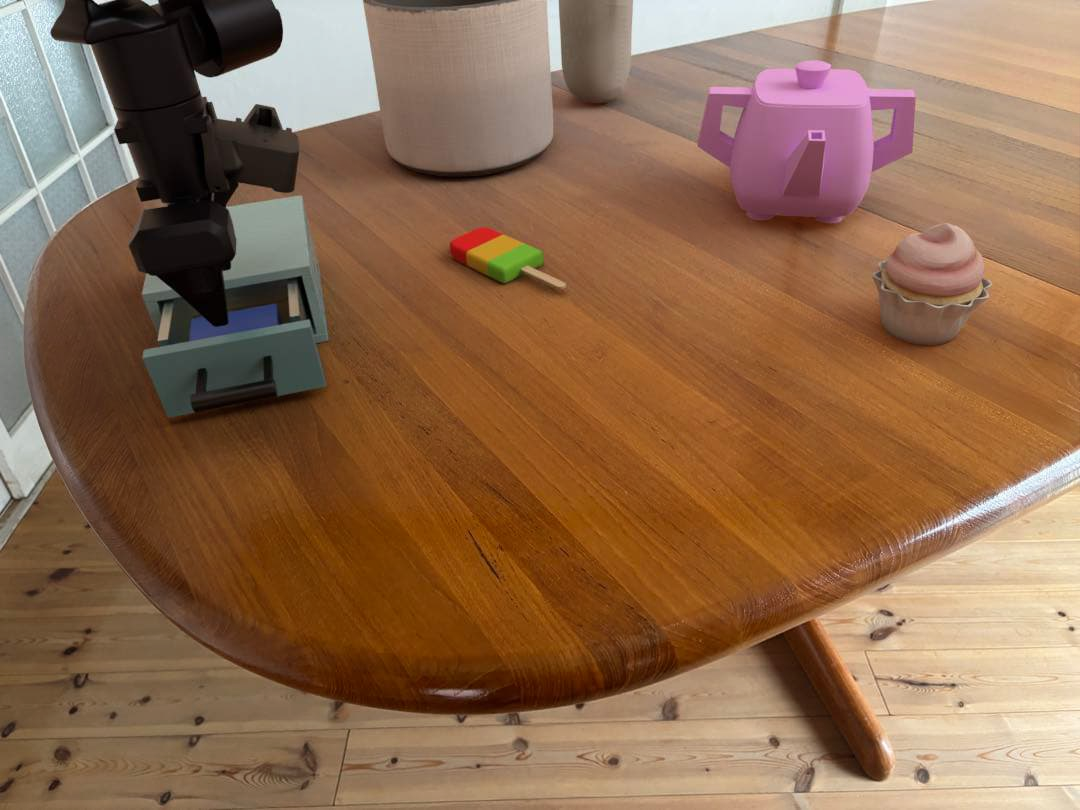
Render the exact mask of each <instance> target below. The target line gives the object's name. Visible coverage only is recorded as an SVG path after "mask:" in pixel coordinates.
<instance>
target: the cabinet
mask: <svg viewBox="0 0 1080 810" xmlns="http://www.w3.org/2000/svg"><path fill="white" fill-rule="evenodd" d="M226 208H227V209H228V210H229V213H230V216H231V219H232V223H233V227H234V232H235V237H236V238H237V240H236V255H235V257H234V259H233V260H232V261H231V269H230V270H226V271H223V276H224V284H225V289H230V288H236V287H242V286H247V285H253V284H259V283H265V282H270V281H276V280H282V279H288V278H293V277H299V276H301V279H302V283H303V287H304V290H305V294H306V298H307V306H308V315H309V320H310V322H311V326H312V330H313V334H314V338H315V341H316V344H319V343H320V344H321V343H325V342H329V339H330V338H329V332H328V324H327V316H326V309H325V308H326V307H325V302H324V301H325V300H324V295H323V287H322V278H321V272H320V271H321V270H320V264H319V259H318V255H317V251H316V247H315V243H314V239H313V235H312V231H311V227H310V223H309V219H308V215H307V211H306V207H305V203H304V199H303V196H302V195H294V196H288V197H281V198H273V199H269V200H263V201H256V202H249V203H243V204H236V205H230V206H226ZM141 291H142V292H141V297H142V299H143V302H144V304H145V308H146V310H147V312H148V314H149V316H150V319H151V322H152V324H153V326H154V329H155V331H156V334H157V336H158V335H159V329H160V324H161V318H162V312H163V307H164V301H165V300H167V299H173V298H179V297H181V296H180V295H179V294H178V293H176V292H175V291H174V290H173V289H172V288H170V287H169V286H168V285H167V284H165V283H164V282H163V281H162V280H160V279H159V278H158V277H157V276H151V275H149V274H148V273H145V278H144V282H143V285H142V290H141Z"/></svg>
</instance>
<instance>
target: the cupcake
mask: <svg viewBox="0 0 1080 810" xmlns="http://www.w3.org/2000/svg"><path fill="white" fill-rule="evenodd" d="M877 266H878V270H876V271H874V272H872V274H871V277H872V279H873V282H874V285H875V287H876V289H877V293H878V299H879V312H880V323H881V324H882V328H883V329H884V330H885V331H886V332H888V334H890V336H892V337H894V338H896V339H899V340H901V341H904V342H907V343H909V344H914V345H922V346H936V345H943V344H947V343H949V342H951V341H952V340H953V339H955V338H956V337H957V336H958V334H959V333H960V331H961V330H962V329H963V327H964V325H965V323H966V322H967V321H968V319H969V318H970V316H971V315H972V313H973V312H975V310H976V309H978V308H979V307H980V306H981V305H982V304H983V303H984V302H985V301H986V300H988V299H989V298H990V293H989V292H988V290H989V289H990V288H991V287H992V285H993V282H992V281H991V280H990V279H988V278H985V277H984V275H985V263H984V259H983V255H982V254H981V253H980V251H979V250H978V249H977V248H976V247H975V243H974V242H973V239H972V238H971V237H970V236H969V235H968V233H967V232H966V231H965V230H964V229H962V228H960V227H959V226H957V225H954V224H951V223H949V222H943V223H939V224H934V225H932V226H930V227H929V228H927V229H925V230H924V231H923V232H913V233H909V234H907V235H905V236H904V238H902V239H901V240H900V241H899V242H898V243H897V245H896V247H895V249H894V251H893V252H891V254H889V256H888V257H887V258H886V260H882V261H880V262H878V264H877Z"/></svg>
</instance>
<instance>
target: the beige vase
mask: <svg viewBox="0 0 1080 810" xmlns="http://www.w3.org/2000/svg"><path fill="white" fill-rule="evenodd" d="M633 10H634V0H558V16H559V17H558V18H559V33H560V35H559V38H560V55H561V56H560V57H561V58H560V59H561V70H562V75H563V80H564V82H565V85H566V87H567V89H568V90H569V92H570V93H571V94H572V95H573V96H574V97H575V98H576V99H578V100H579V101H581V102H583V103H588V104H606V103H609V102H612V101H613V100H615V99H617V98H618V97H619V96H620V95H621V93H622V92H623V90H624V89H625V87H626V85H627V82H628V80H629V77H630V73H631V64H632V35H633V34H632V30H633V16H634V15H633V14H634V13H633Z"/></svg>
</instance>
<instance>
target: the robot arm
mask: <svg viewBox="0 0 1080 810" xmlns="http://www.w3.org/2000/svg"><path fill="white" fill-rule="evenodd" d="M283 26H284V25H283V20H282V15H281V12H280V11H279V9H278V8H277V7H276V5H275V3H274V2H273V0H157V3H155V4H151V5H150V4H148V3H147V2H145V1H144V0H110V1H105V2H102V3H97V2H96V1H95V0H64V4H63V9H62V10H61V13H60V14H59V15H58V16H57V18H55V21H54V23H53V25H52V27H51V28H50V36H51V38H52V39H53V40H55V41H57V42H65V43H73V44H79V45H87V46H90V48H91V51H92V53H93V56H94V59H95V61H96V64H97V67H98V70H99V73H100V75H101V78H102V81H103V84H104V87H105V89H106V91H107V94H108V97H109V100H110V102H111V105H112V108H113V111H114V113H115V115H116V119H117V120H116V123H115V126H114V128H113V131H114V133H115V136H116V139H117V142H118V144H119V145H125V144H126V145H127V148H128V152H129V153H130V156H131V159H132V162H133V164H134V167H135V170H136V172H137V175H138V180H137V184H136V187H135V190H136V192H137V194H138V198H139V200H140V202H141V203H142V202H151V201H156V200H157V201H158V200H160V202H161V203H162V204H164V205H165V206H161V207H153V208H148V209H143V210H142V212H141V213H140V215H139V216H138V218H137V220H136V221H135V223H134V224H133V228H132V232H131V236H130V240H129V243H128V248H129V250H130V253H131V256H132V259H133V260H134V263H135V266H136V269H137V271H138V272H140V273H143V274H146V273H148V274H149V275H151V276H157V277H158V278H159V279H160V280H162V281H163V282H164V283H165V284H167V285H168V286H169V287H170V288H172V289H173V290H174V291H175V292H176V293H178V294H179V295H180V296H181V297H182V298H183V299H184V300H185V301H187V302H188V303H189V304H190V305H191V306H192V307H193V308H194V309H195V310H196V311H197V312H199V313H200V314H201V315H202V316H203V317H204V318H205V319H206V320H207V321H208V322H209V323H210V324H212V325H213V326H214V327H219V326H225V325H227V324H228V323H229V319H228V310H227V301H226V293H225V284H224V276H223V271H226V270H230V269H231V261H232V260H233V259H234V257H235V255H236V240H237V238H236V237H235V232H234V227H233V223H232V219H231V216H230V213H229V210H228V209H227V208H226V207H227V205H228V203H229V201H230V200H231V198H232V197H233V195H234V194H235V192H236V191H237V189H238V187H239V184H244V185H251V186H256V187H262V188H269V189H272V190H273V191H274V192H276V193H281V194H282V193H283V194H290V193H293V192H294V191H295V190H296V189H295V188H296V180H297V174H298V173H297V172H298V164H299V157H300V141H299V136H298V135H297V134H296V133H294V132H293V128H291V127H285V129H284V128H283V125H282V123H281V119H280V117H279V114H278V112H277V110H276V107H274V106H268V105H264V104H259V103H255V104H254V105H253V107H252V109H250V111H249V112H248V114H247V115H246V117H245V118H244V120H243V121H242V119H243V118H241V117H235V120H229V119H223V118H218V116H217V113H216V110H215V107H214V106H215V105H214V103H213V102H212V101H209V100H208V98H207V96H203V95H202V92H201V89H200V85H199V83H198V79H197V75H196V73H197V74H198V75H201V76H203V77H205V78H217V77H219V76H222V75H225V74H227V73H230V72H232V71H236V70H238V69H240V68H243V67H245V66H248V65H251V64H254V63H256V62H259V61H262V60H264V59H267V58H269V57H272V56H274V55H275V54H276V53H277V52H278V51H279V50H280V48H281V46H282V43H283V38H284V27H283Z"/></svg>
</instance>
